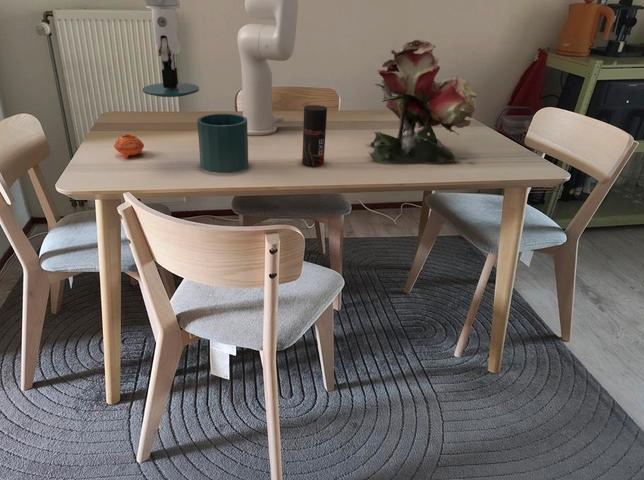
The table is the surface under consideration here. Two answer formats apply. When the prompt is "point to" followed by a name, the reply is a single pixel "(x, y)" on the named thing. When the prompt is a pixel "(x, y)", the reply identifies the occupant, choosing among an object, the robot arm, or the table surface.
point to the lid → (171, 90)
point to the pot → (128, 145)
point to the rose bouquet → (420, 106)
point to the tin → (223, 142)
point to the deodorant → (314, 135)
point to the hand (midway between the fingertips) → (170, 85)
